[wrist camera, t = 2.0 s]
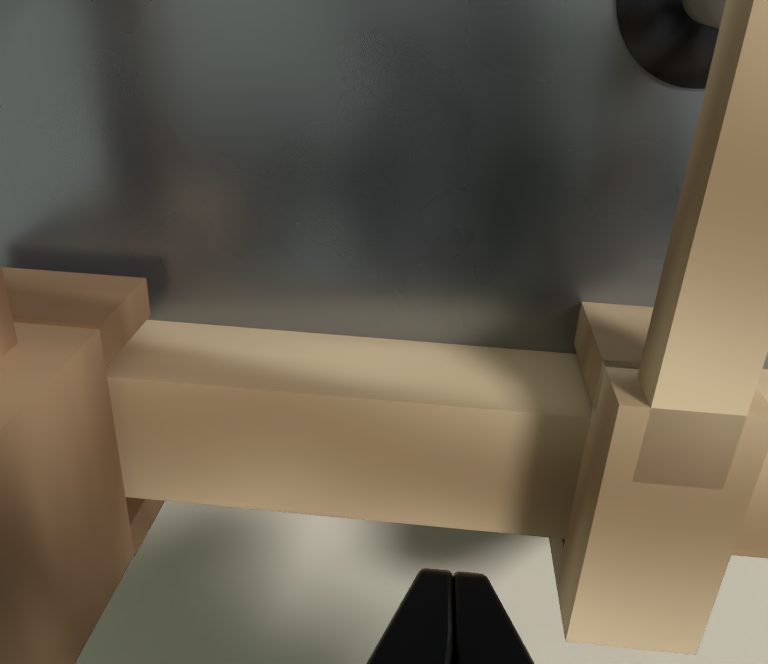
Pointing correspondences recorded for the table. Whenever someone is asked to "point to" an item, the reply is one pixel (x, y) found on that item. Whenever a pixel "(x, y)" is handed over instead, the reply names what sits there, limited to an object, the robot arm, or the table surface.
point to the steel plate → (353, 158)
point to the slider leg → (62, 459)
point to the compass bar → (518, 405)
